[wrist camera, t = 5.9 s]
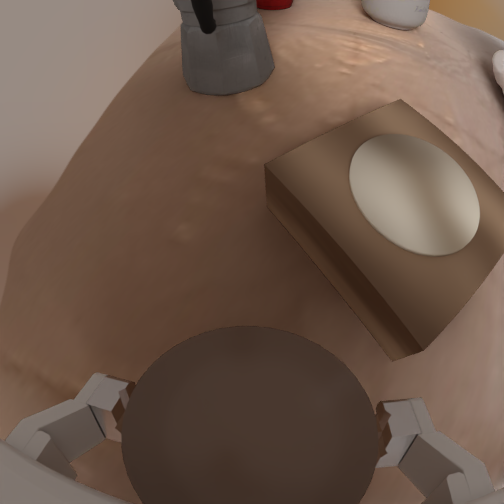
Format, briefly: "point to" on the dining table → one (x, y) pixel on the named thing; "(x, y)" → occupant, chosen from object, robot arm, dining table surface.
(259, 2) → the plastic cup
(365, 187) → the display plinth
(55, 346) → the dining table surface
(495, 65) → the bust
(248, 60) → the coffeepot
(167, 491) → the brown capped cylinder
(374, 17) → the teacup
